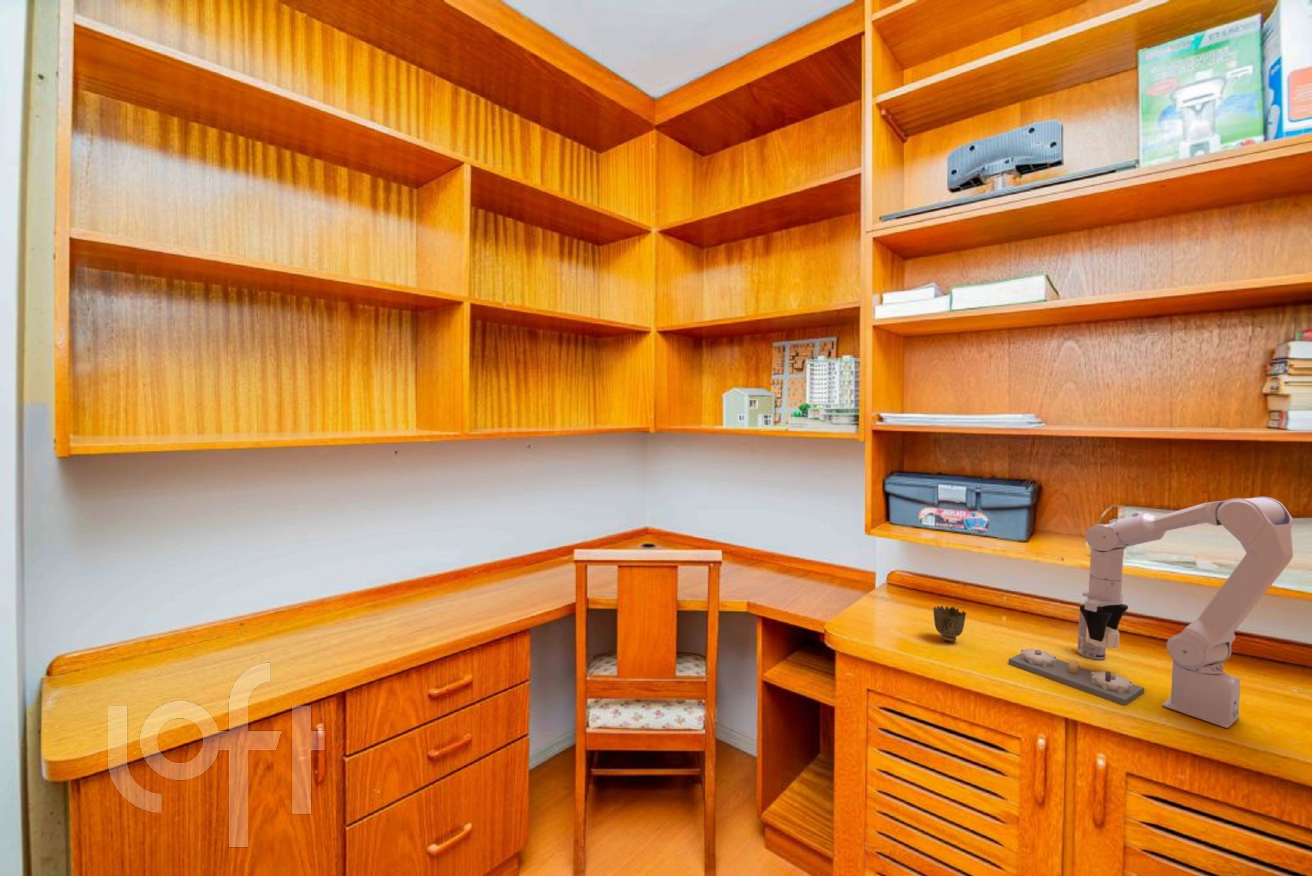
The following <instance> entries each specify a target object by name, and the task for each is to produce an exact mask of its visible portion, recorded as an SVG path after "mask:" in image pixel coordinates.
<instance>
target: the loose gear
mask: <svg viewBox="0 0 1312 876" xmlns="http://www.w3.org/2000/svg"><path fill="white" fill-rule="evenodd" d="M1086 641H1087V642H1088V643H1092V644H1094V645H1095V646H1098V647H1099V646H1101V647H1106V649H1114V648H1115V649H1119V647H1120V631H1119V630H1118V629H1117V630H1114V629H1112V628H1110V627H1107V626H1106V630H1105V634H1104V638H1103V640H1102V641H1101V642H1100V641H1096V640H1093V639H1090V636H1089V632H1088V627H1087V628H1086Z"/></svg>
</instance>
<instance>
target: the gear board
mask: <svg viewBox="0 0 1312 876" xmlns="http://www.w3.org/2000/svg"><path fill="white" fill-rule="evenodd" d="M1007 662H1008V665H1010V666H1013V667H1016V668H1018V667H1019V668H1020V669H1022V670H1025V671H1028V672H1029V673H1032V674H1035V675H1039V676H1040V677H1045V678H1047V679H1049V678H1050V679H1049V680H1052V681H1055V682H1058V683H1061V684H1063V685H1067V686H1069V687H1072V688H1074V689H1077V690H1080V691H1083V692H1086V693H1088V694H1090V695H1091V694H1092V695H1094V696H1097V697H1099V698H1102V699H1105V700H1108V701H1110V702H1114V703H1116V704H1119V705H1122V706H1127V705H1129V704H1130V703H1132V702H1133V701H1135V700H1136V699H1138V698H1139V697H1141V696H1142V695H1144V694H1145V687H1144V686H1143V687H1142V686H1140V685H1137V684H1133V683H1132V680H1130V679H1127V678H1125V677H1123V676H1121V675H1120V674H1115V673H1112V672H1110V671H1103V670H1101V671H1098V672H1097V671H1095V670H1091V669H1090V668H1085V667H1083V666H1079V662H1078V660H1075V659H1068V662H1067V661H1063V660H1061V659H1059V658H1057V657H1056V655H1055V654H1054V655H1053V654H1051V653H1048V652H1047V651H1046V650H1039V649H1035V648H1033V647H1032V648H1031V647H1029V648H1026V649H1025V648H1021V649H1020V653H1019V654H1017V655H1015V656H1011V658H1008V661H1007Z"/></svg>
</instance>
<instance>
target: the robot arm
mask: <svg viewBox="0 0 1312 876" xmlns="http://www.w3.org/2000/svg"><path fill="white" fill-rule="evenodd" d="M1206 523H1207V524H1210V525H1213V526H1216V527H1217V526H1222V527H1224V529H1225V530H1227V531H1228V532H1229V533H1230V534H1231V535H1232V536H1233V537H1234V539H1235V538H1236V540H1237V541H1239V543H1240V544H1241V546H1242V548H1243V549H1244V551H1245V553H1246V554H1245V555H1244V557H1243V558H1242V559H1241V561H1240V562H1239V563H1238V564H1237V566H1236V567H1235V568H1234V570H1233V571H1232V573H1231V574H1230V575H1229V576H1228V577H1227V579H1226V581H1225V582H1224V583H1223V584H1222V585H1221V587H1220V588H1219V590H1218V591H1217V593H1216V594H1215V595H1214V597H1213V598H1212V599H1211V600H1210V601H1209V603H1208V605H1206V607H1205V608H1204V610H1203V612H1201V613H1200V615H1199V617H1198V618H1197V619H1195V620H1194V621H1192V622H1191V623H1190V624H1188V625H1187V626H1186V627H1184V629H1183V630H1182V631H1181V632H1180V633H1178V634H1174V635H1172V636H1171V637H1169V638H1168V640H1167V641H1166V644H1165V645H1166V651H1167V653H1168V656H1169V657H1170V658H1171V659H1172V668H1171V669H1172V671H1171V684H1170V685H1171V690H1170V697H1169V698H1168V699H1167V700H1165V701H1164V702H1163V703H1162V706H1163V707H1164V708H1167V709H1170V710H1173V711H1176V712H1180V713H1182V714H1185V715H1187V716H1191V717H1194V718H1197V719H1199V720H1202V721H1205V722H1208V723H1211V724H1214V725H1217V726H1220V727H1222V728H1225V729H1226V728H1227V729H1228V728H1230V726H1232V725H1233V724H1234V723H1235V722H1236V721H1237V720H1238V719H1239V718H1240V715H1239V713H1240V712H1239V711H1240V698H1241V697H1240V696H1241V682H1240V678H1238V677H1236V676H1234V675H1231V674H1228V673H1226V672H1224V670H1225V669H1224V666H1223V662H1225V661H1226V660H1227V661H1228V660H1229V658H1230V657H1231V655H1232V644H1233V643H1234V641H1235V640H1236V638H1237V637H1236V634H1235V632H1236V631H1237V629H1238V628H1239V627H1240V626H1241V624H1242V623H1243V621H1245V619H1246V618H1247V617H1248V615H1250V613H1251V612H1252V610H1253V609H1254V608H1255V606H1257V604H1258V603H1259V602H1260V600H1261V598H1263V596H1264V595H1265V594H1266V593H1267V592H1268V591H1269V589H1270V587H1272V585H1273V584H1274V582H1275V581H1276V580H1277V579H1278V578H1279V576H1281V574H1282V573H1283V571H1284V570H1285V569H1286V568H1287V566H1289V564H1290V562H1291V561H1292V559H1293V556H1294V551H1293V537H1292V526H1293V524H1294V519H1293V517H1292V515H1291V514H1290V513H1289V511H1288V510H1287V508H1286V506H1285V505H1284V504H1282V502H1280V501H1278V500H1277V499H1275V498H1272V497H1268V496H1255V497H1251V498H1248V497H1247V498H1230V499H1227V500H1220V501H1211V502H1204V503H1199V504H1197V505H1193V506H1190V507H1186V508H1183V509H1179V510H1177V511H1176V510H1175V511H1173V512H1170V513H1166V514H1163V515H1159V516H1156V515H1154V514H1151V513H1148V512H1146V513H1143V512H1142V511H1137V512H1134V513H1131V517H1126V518H1122V519H1120V520H1118V519H1116V518H1115V519H1111V520H1109V523H1107V524H1101V523H1100V524H1098V523H1097V524H1094V525H1093V526H1091V527H1089V528H1088V529H1087V530H1086V532H1085V540H1086V542H1087V545H1089V547H1090V558H1089V574H1088V575H1089V579H1088V591H1083V592H1082V593H1081V594H1082V596H1083V597H1086V600H1085V601H1084V604H1085V605H1081V604H1080V605H1079V611H1081V612H1082V614H1083V616H1084V618H1085V621H1086V624H1087V627H1088V632H1089V636H1090V639H1093V640H1096V641H1100V642H1101V641H1102V640H1103V638H1104V634H1105V630H1106V626H1107V627H1110V628H1112V629H1114V630H1118V627H1119V625H1120V621H1121V620H1122V618H1123V616H1124V614H1125V613H1126V612H1127V610H1128V609H1129V606H1128V604H1123V599H1124V593H1123V592H1122V586H1123V568H1124V567H1123V566H1124V551H1125V549H1127V548H1128V547H1132V546H1137V545H1142V544H1145V543H1146V544H1147V543H1151V542H1155V541H1159V540H1162V538H1163V537H1164V536H1165V533H1166V532H1169V531H1173V530H1177V529H1178V530H1179V529H1183V528H1186V527H1187V528H1188V527H1193V526H1198V525H1201V524H1206Z"/></svg>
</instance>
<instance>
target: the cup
mask: <svg viewBox="0 0 1312 876" xmlns="http://www.w3.org/2000/svg"><path fill="white" fill-rule="evenodd" d="M932 609H933V621H934V626H935V630H936V631H937V632H938V633H939V634H940V639H941V641H942V642H945V643H952V644H953V643H956V642H957V637H959V636H960V635H961V634H962V633H963V631H964V626H965V621H966V616H967V612H965V610H962V611H959V607H958V608H955V606H950V607H949V606H948V605H946V606H945V607H943V606H942V605H940V606H939V605H937V606H934V607H932Z"/></svg>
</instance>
